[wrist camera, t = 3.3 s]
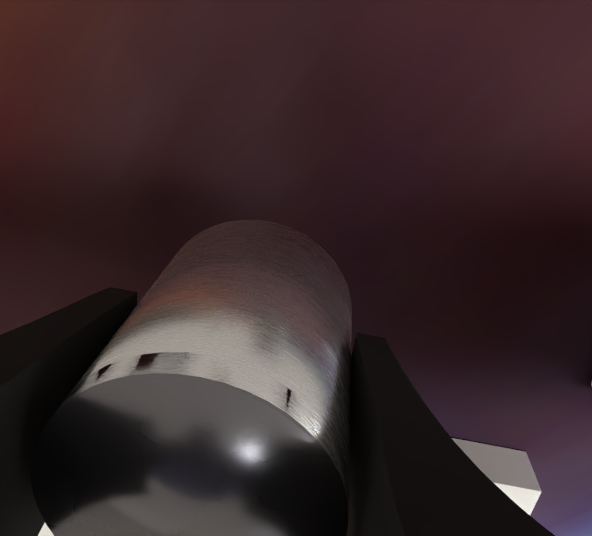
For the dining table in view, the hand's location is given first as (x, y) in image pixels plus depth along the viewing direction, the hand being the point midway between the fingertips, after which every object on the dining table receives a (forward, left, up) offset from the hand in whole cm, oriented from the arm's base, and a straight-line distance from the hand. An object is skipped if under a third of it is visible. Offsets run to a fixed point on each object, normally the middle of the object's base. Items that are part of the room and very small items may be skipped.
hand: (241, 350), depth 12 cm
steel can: (0, 0, -2) cm, 2 cm away
